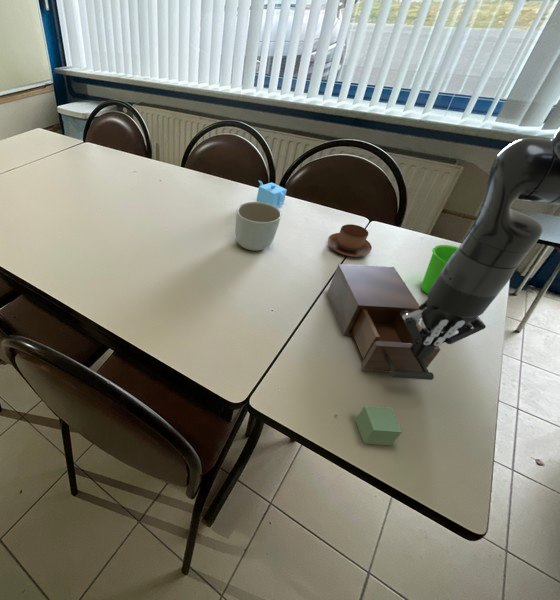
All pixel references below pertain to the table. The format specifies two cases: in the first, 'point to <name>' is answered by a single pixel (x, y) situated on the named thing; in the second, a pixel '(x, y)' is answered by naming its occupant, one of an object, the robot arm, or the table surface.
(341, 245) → the cup and saucer
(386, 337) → the drawer
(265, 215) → the planter
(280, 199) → the teapot
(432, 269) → the cup
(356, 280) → the cabinet
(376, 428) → the block
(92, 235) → the table surface
